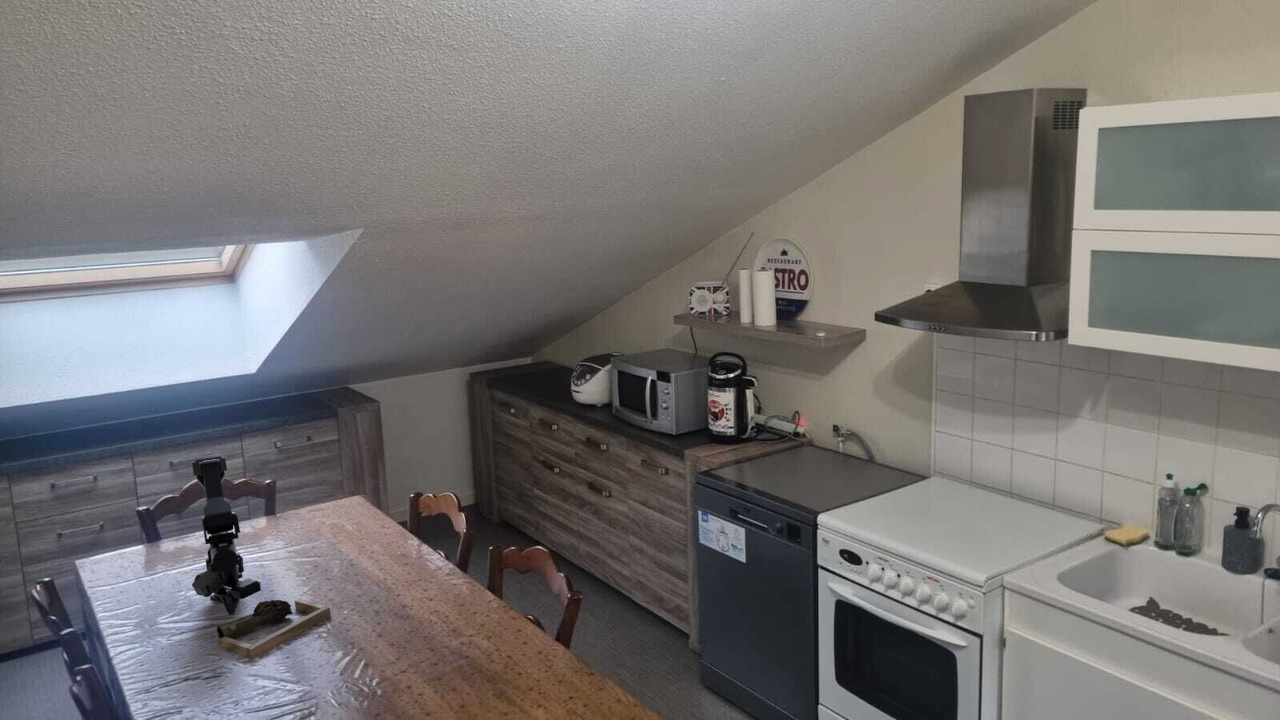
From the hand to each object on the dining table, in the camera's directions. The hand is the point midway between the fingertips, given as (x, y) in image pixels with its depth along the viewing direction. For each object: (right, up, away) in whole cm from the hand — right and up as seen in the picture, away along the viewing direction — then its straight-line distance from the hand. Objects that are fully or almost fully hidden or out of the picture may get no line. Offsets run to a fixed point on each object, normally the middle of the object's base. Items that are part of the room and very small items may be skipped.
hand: (231, 614), depth 244 cm
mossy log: (+9, -2, -6) cm, 11 cm away
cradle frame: (+15, -2, -8) cm, 17 cm away
